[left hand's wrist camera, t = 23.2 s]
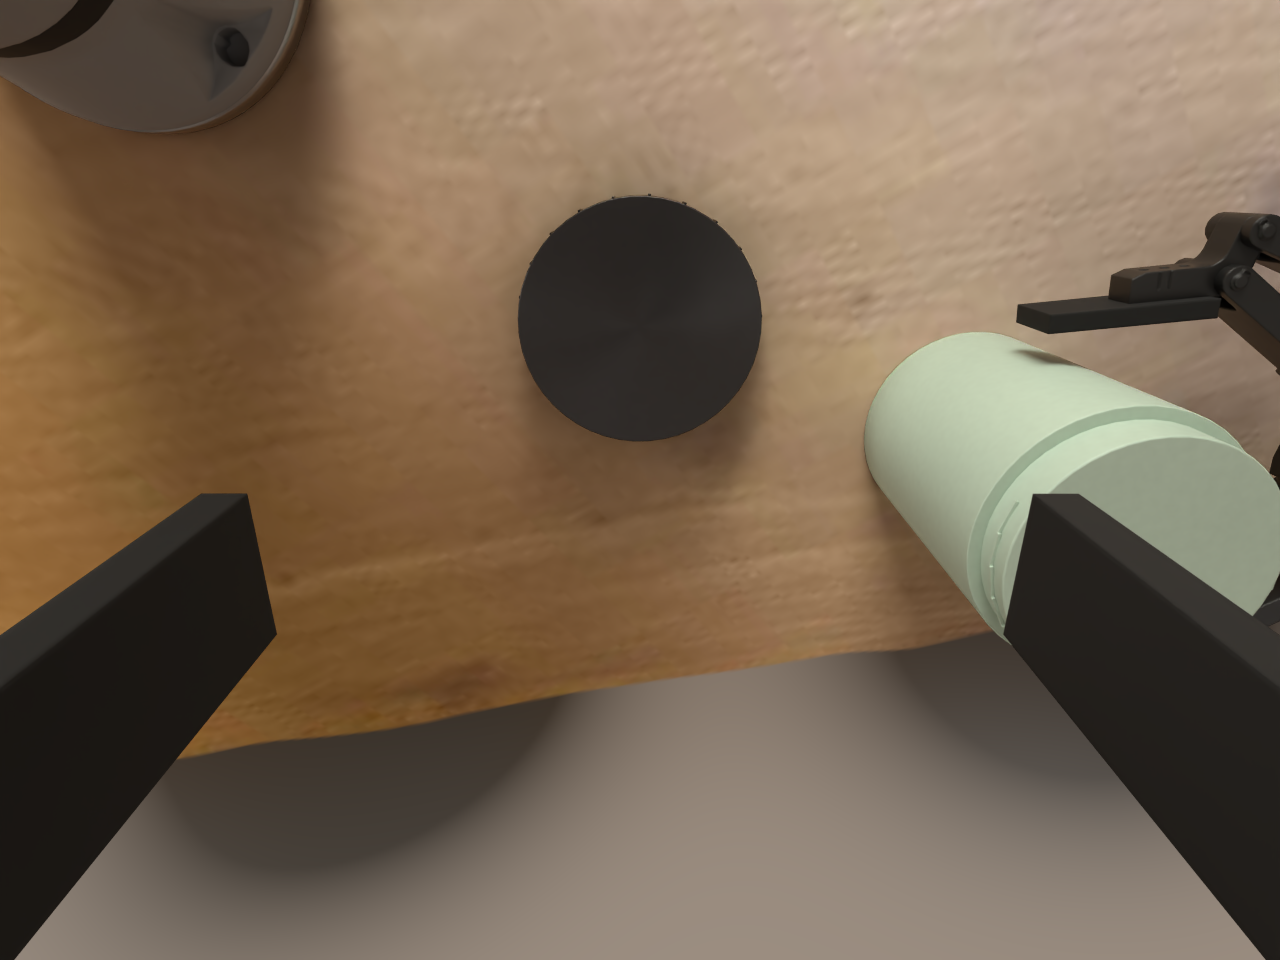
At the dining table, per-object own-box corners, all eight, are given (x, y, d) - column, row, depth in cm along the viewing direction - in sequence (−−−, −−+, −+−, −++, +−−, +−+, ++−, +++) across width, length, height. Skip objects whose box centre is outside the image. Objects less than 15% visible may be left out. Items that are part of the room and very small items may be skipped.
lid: (735, 168, 34) (741, 167, 32) (771, 406, 38) (778, 417, 36) (495, 223, 35) (487, 225, 33) (556, 449, 39) (552, 463, 37)
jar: (873, 534, 41) (993, 715, 27) (854, 354, 37) (982, 456, 23) (1062, 499, 40) (1286, 667, 26) (1062, 312, 37) (1323, 391, 23)
